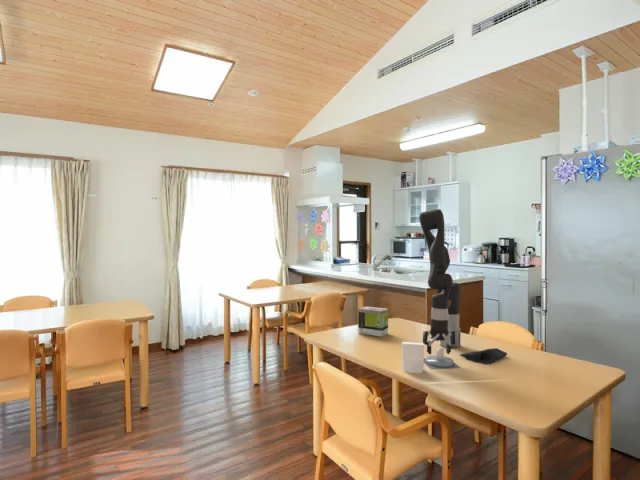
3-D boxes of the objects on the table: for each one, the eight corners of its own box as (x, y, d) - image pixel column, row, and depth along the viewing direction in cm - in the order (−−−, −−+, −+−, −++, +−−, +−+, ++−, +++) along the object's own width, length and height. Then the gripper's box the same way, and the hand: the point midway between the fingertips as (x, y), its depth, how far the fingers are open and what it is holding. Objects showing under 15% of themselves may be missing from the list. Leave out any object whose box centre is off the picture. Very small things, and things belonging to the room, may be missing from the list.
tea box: (388, 333, 238) (388, 308, 237) (381, 337, 229) (381, 311, 229) (365, 330, 246) (365, 305, 245) (357, 333, 237) (357, 308, 237)
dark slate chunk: (513, 359, 193) (513, 349, 193) (483, 367, 182) (483, 356, 182) (485, 351, 206) (485, 341, 206) (455, 358, 195) (455, 348, 195)
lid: (446, 358, 190) (447, 344, 190) (458, 367, 178) (458, 352, 178) (422, 359, 189) (422, 345, 189) (432, 368, 177) (432, 353, 177)
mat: (448, 359, 192) (448, 357, 192) (461, 369, 178) (461, 367, 178) (419, 359, 190) (419, 358, 190) (430, 370, 176) (430, 368, 176)
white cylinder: (401, 373, 172) (401, 345, 172) (402, 366, 181) (402, 339, 180) (423, 375, 170) (423, 347, 169) (423, 368, 178) (423, 341, 178)
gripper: (451, 316, 188) (450, 351, 188) (421, 316, 186) (420, 351, 187) (458, 319, 180) (457, 355, 181) (427, 319, 179) (426, 356, 179)
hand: (438, 353), depth 184 cm, fingers open, 8 cm apart
